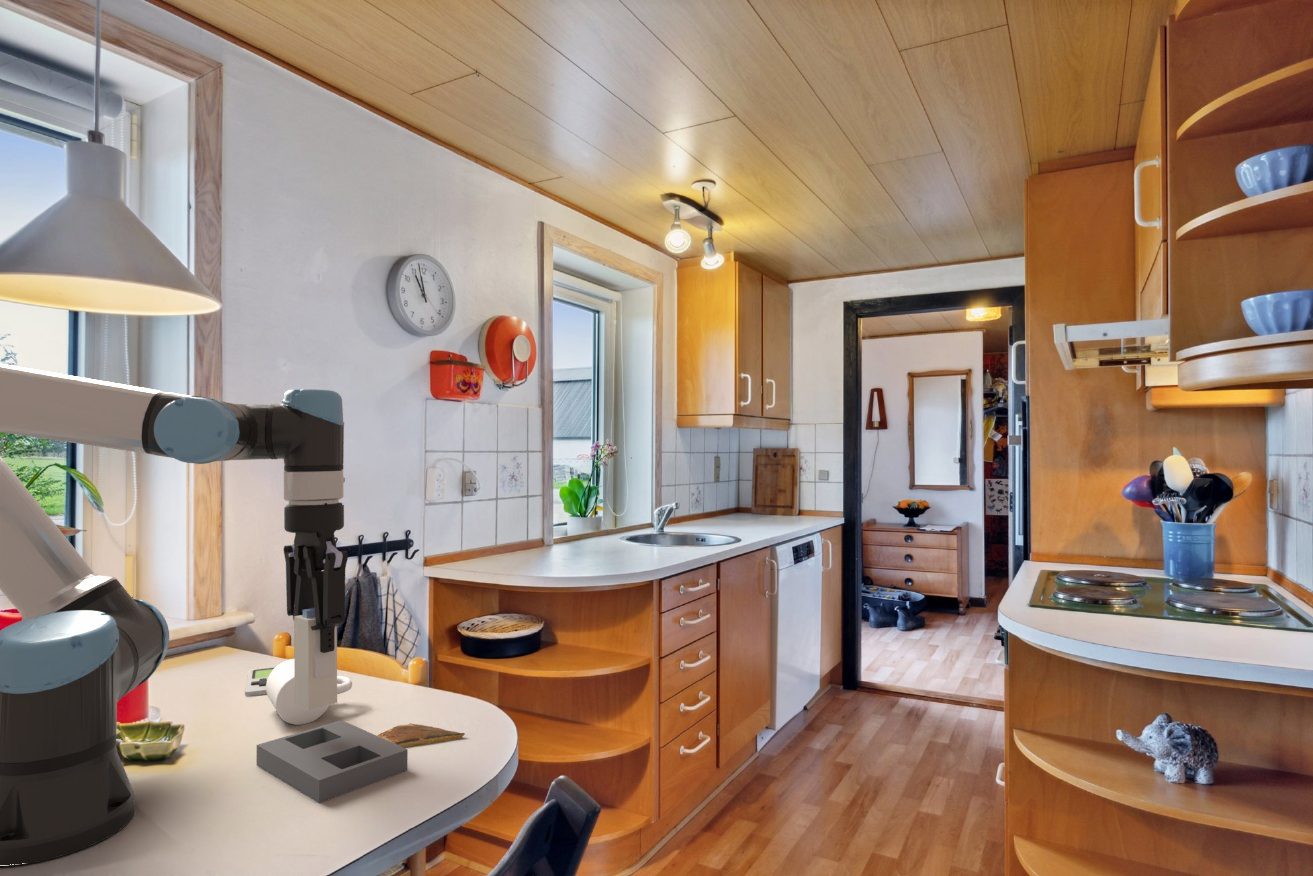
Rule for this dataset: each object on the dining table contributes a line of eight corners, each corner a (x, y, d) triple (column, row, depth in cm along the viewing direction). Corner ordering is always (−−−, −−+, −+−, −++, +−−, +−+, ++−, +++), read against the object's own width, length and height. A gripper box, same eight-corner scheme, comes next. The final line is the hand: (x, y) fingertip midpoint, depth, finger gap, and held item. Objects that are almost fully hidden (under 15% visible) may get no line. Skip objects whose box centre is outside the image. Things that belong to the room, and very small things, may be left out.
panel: (319, 805, 92) (319, 780, 92) (256, 767, 103) (256, 745, 103) (407, 772, 101) (407, 749, 101) (341, 740, 112) (341, 720, 112)
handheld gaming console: (244, 690, 131) (248, 667, 145) (244, 699, 131) (248, 676, 145) (308, 682, 136) (306, 661, 149) (308, 691, 136) (306, 669, 149)
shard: (465, 743, 112) (465, 731, 112) (429, 763, 105) (429, 750, 105) (407, 731, 117) (407, 719, 117) (370, 750, 110) (370, 737, 110)
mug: (276, 730, 116) (276, 677, 116) (265, 711, 124) (265, 662, 124) (358, 714, 123) (358, 664, 123) (343, 697, 131) (343, 651, 131)
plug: (308, 710, 102) (308, 613, 103) (294, 703, 105) (294, 609, 105) (337, 702, 106) (336, 607, 106) (322, 696, 108) (322, 604, 108)
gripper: (372, 503, 103) (373, 677, 103) (311, 497, 114) (311, 655, 114) (318, 506, 97) (319, 691, 97) (258, 501, 108) (259, 667, 108)
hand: (315, 671), depth 105 cm, fingers closed on plug, 4 cm apart
